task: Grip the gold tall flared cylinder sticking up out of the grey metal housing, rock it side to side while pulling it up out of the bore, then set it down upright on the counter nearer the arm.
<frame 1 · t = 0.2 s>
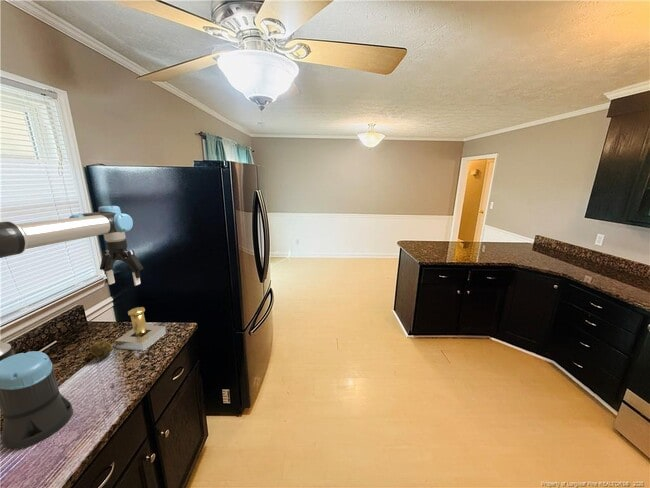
hand: (124, 284, 124), 27 cm above the counter, fingers open, 13 cm apart
gold tall flared cylinder: (139, 325, 124), in the housing
housing: (142, 340, 126), on the counter
potato: (103, 355, 116), on the counter
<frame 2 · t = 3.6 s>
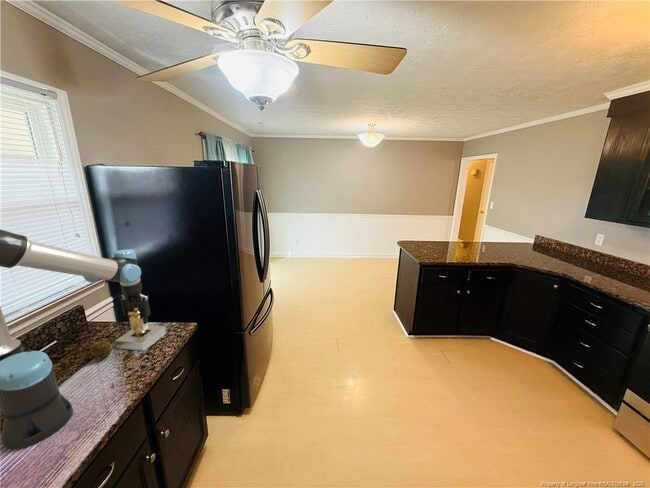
hand: (140, 328, 125), 6 cm above the counter, fingers closed on gold tall flared cylinder, 5 cm apart
gold tall flared cylinder: (139, 325, 124), in the housing, touching gripper
everything else where it was.
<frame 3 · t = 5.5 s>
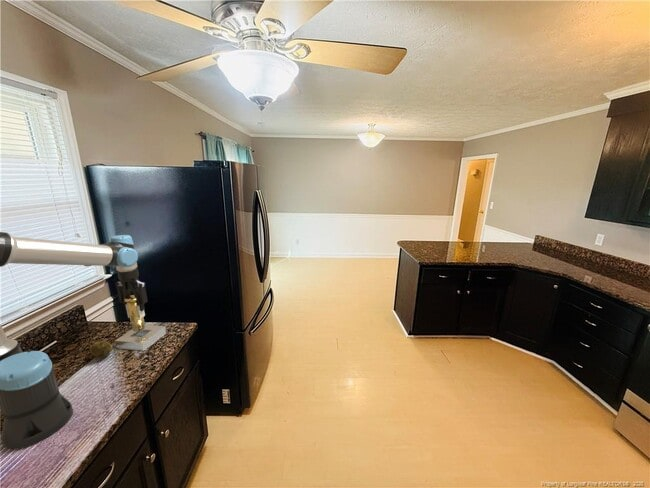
hand: (136, 316, 123), 13 cm above the counter, fingers closed on gold tall flared cylinder, 5 cm apart
gold tall flared cylinder: (136, 313, 123), point 15 cm above the counter, touching gripper
everything else where it was.
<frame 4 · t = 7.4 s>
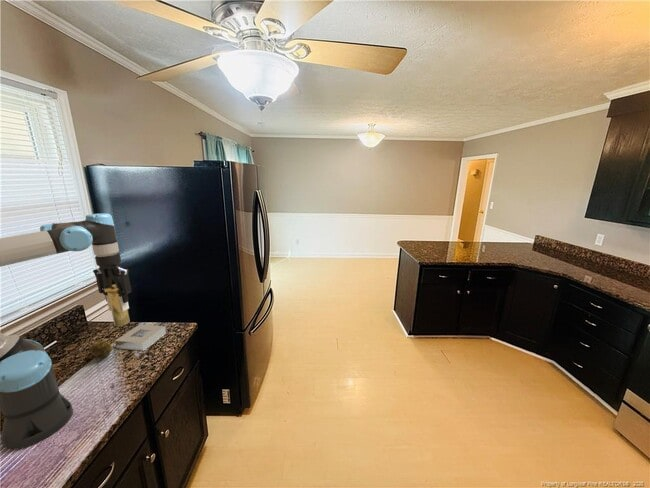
hand: (119, 309, 106), 24 cm above the counter, fingers closed on gold tall flared cylinder, 5 cm apart
gold tall flared cylinder: (118, 305, 106), point 26 cm above the counter, touching gripper
everything else where it was.
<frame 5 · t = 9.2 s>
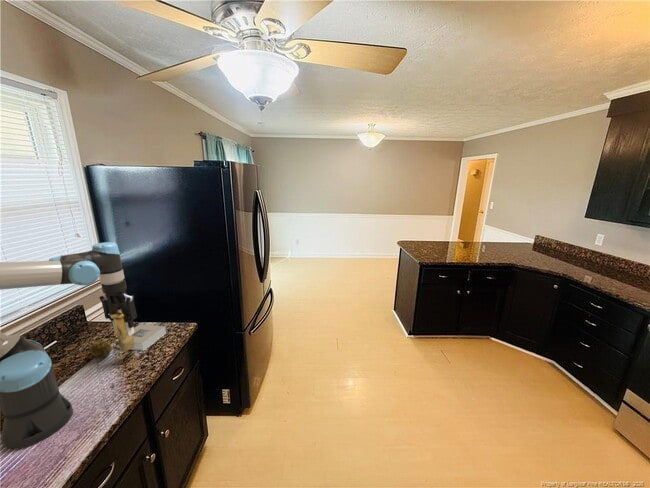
hand: (124, 333, 109), 13 cm above the counter, fingers closed on gold tall flared cylinder, 5 cm apart
gold tall flared cylinder: (124, 330, 109), point 15 cm above the counter, touching gripper
everything else where it was.
when the fingers open (7 cm above the counter, at t = 11.1 s): gold tall flared cylinder stays where it is, on the counter.
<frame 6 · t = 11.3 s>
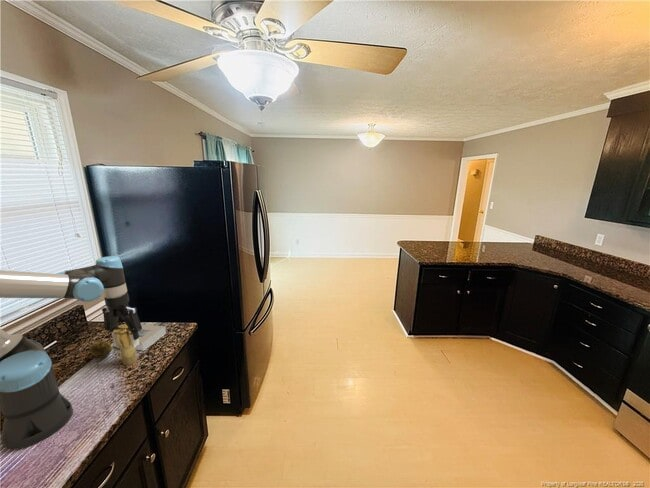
hand: (127, 345, 110), 8 cm above the counter, fingers open, 8 cm apart
gold tall flared cylinder: (126, 344, 110), on the counter
everything else where it was.
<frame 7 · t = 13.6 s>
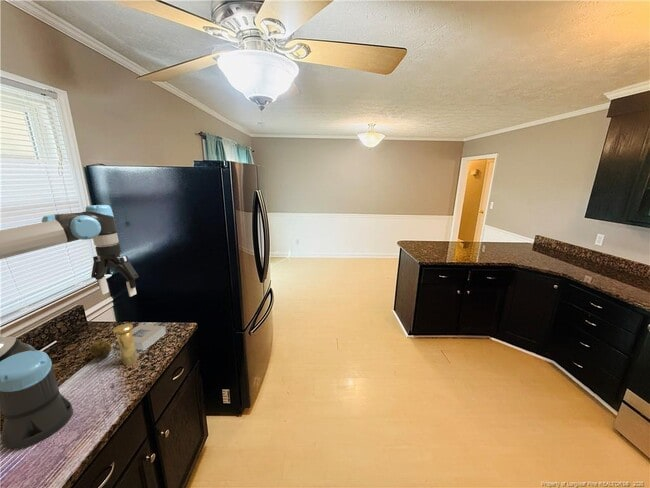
hand: (119, 294, 108), 29 cm above the counter, fingers open, 13 cm apart
nothing on the counter moved.
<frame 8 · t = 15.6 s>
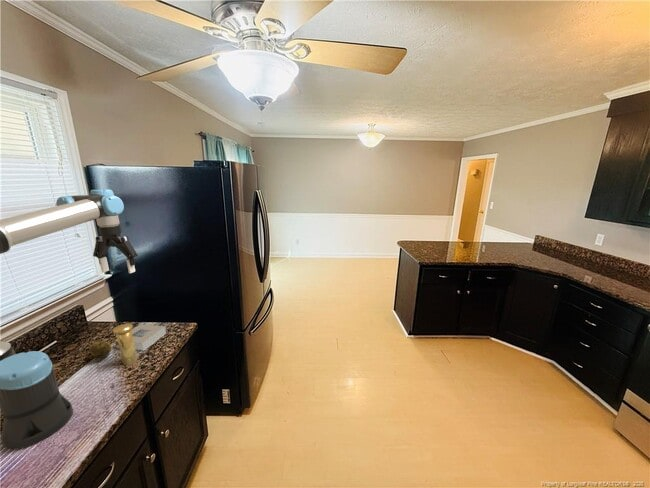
hand: (118, 272, 119), 35 cm above the counter, fingers open, 13 cm apart
nothing on the counter moved.
at the end: gold tall flared cylinder inside the target area (0.1 cm from its centre), on the counter; gold tall flared cylinder tilted 0°; gold tall flared cylinder touching counter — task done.
